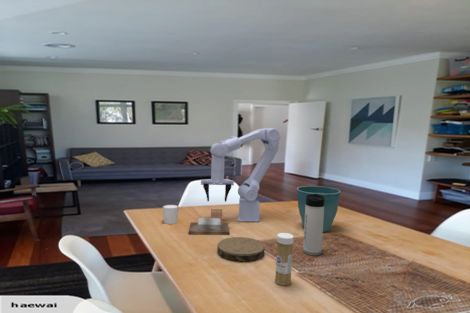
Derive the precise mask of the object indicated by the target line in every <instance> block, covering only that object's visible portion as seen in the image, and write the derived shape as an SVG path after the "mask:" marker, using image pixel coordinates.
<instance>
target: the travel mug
mask: <svg viewBox="0 0 470 313" xmlns="http://www.w3.org/2000/svg"><path fill="white" fill-rule="evenodd" d="M324 200H325V198H324V197H323V196H321V195H319V194H312V195H307V196H306V206H305V224H304V228H303V242H302V243H303V245H302V252H303V253H304V254H306V255H309V256H320V255H321V254H322V251H323V250H322V249H323V248H322V247H323V234H324V232H323V220H324Z"/></svg>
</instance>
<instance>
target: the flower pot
mask: <svg viewBox="0 0 470 313" xmlns="http://www.w3.org/2000/svg"><path fill="white" fill-rule="evenodd" d="M296 192H297V207H298V212H299V215H300V218H301V223H302V228H303V229H304V224H305V206H306V196H307V195H312V194H319V195H321V196H323V197H324V198H325V200H324V220H323V233H324V232H330V231H331V230H332V225H333V223H334V221H335V218H336V215H337V213H338V210H339V209H338V208H339V203H340V202H339V201H340V195H341V190H339V189H337V188H333V187H330V186H329V187H328V186H319V185H317V186H316V185H306V186H305V185H303V186H298V187H297V188H296Z"/></svg>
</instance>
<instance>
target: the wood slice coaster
mask: <svg viewBox="0 0 470 313" xmlns="http://www.w3.org/2000/svg"><path fill="white" fill-rule="evenodd" d="M216 252H217V255H218V256H219V257H220V258H221V259H223V260H226V261H230V262H233V263H253V262H256V261H260V260H261V259H263V258H264V257H265V244H264V243H263V242H261V241H260V240H259V239H255V238H251V237H245V236H244V237H241V236H234V237H227V238H224V239H222V240H221V239H220V240H219V241H218V243H217V251H216Z"/></svg>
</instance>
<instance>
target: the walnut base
mask: <svg viewBox="0 0 470 313" xmlns="http://www.w3.org/2000/svg"><path fill="white" fill-rule="evenodd" d="M229 227H230V226H229V222H222V223H221V222H220V218H211V217H198V221H196V222H195V221H194V222H192V221H191V222H190V223H189V228H188V235H204V236H207V235H208V236H209V235H210V236H212V235H214V236H216V235H217V236H218V235H220V236H230V228H229Z"/></svg>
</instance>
